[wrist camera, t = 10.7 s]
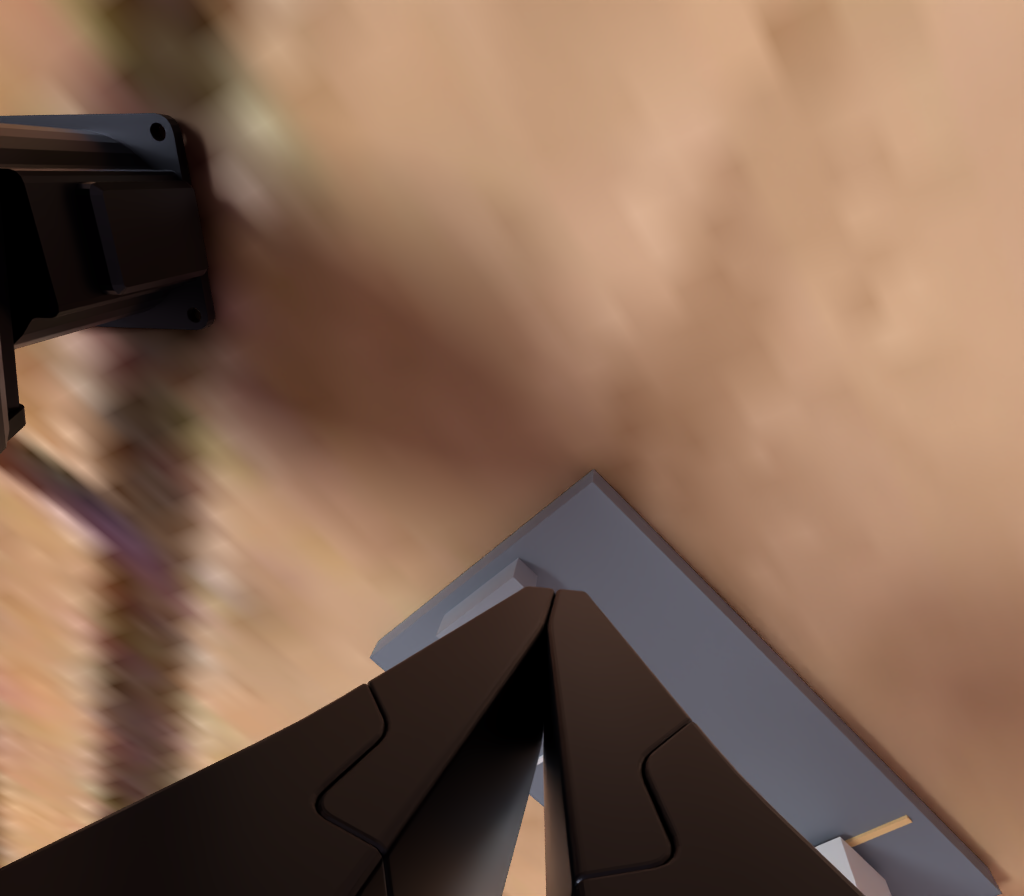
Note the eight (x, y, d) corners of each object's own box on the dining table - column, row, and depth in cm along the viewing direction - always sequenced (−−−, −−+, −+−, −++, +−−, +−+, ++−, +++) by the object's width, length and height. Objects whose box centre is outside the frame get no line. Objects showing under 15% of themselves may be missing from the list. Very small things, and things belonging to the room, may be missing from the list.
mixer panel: (378, 641, 27) (358, 679, 25) (593, 468, 22) (591, 498, 20) (744, 958, 31) (754, 1012, 29) (988, 868, 26) (1019, 925, 24)
